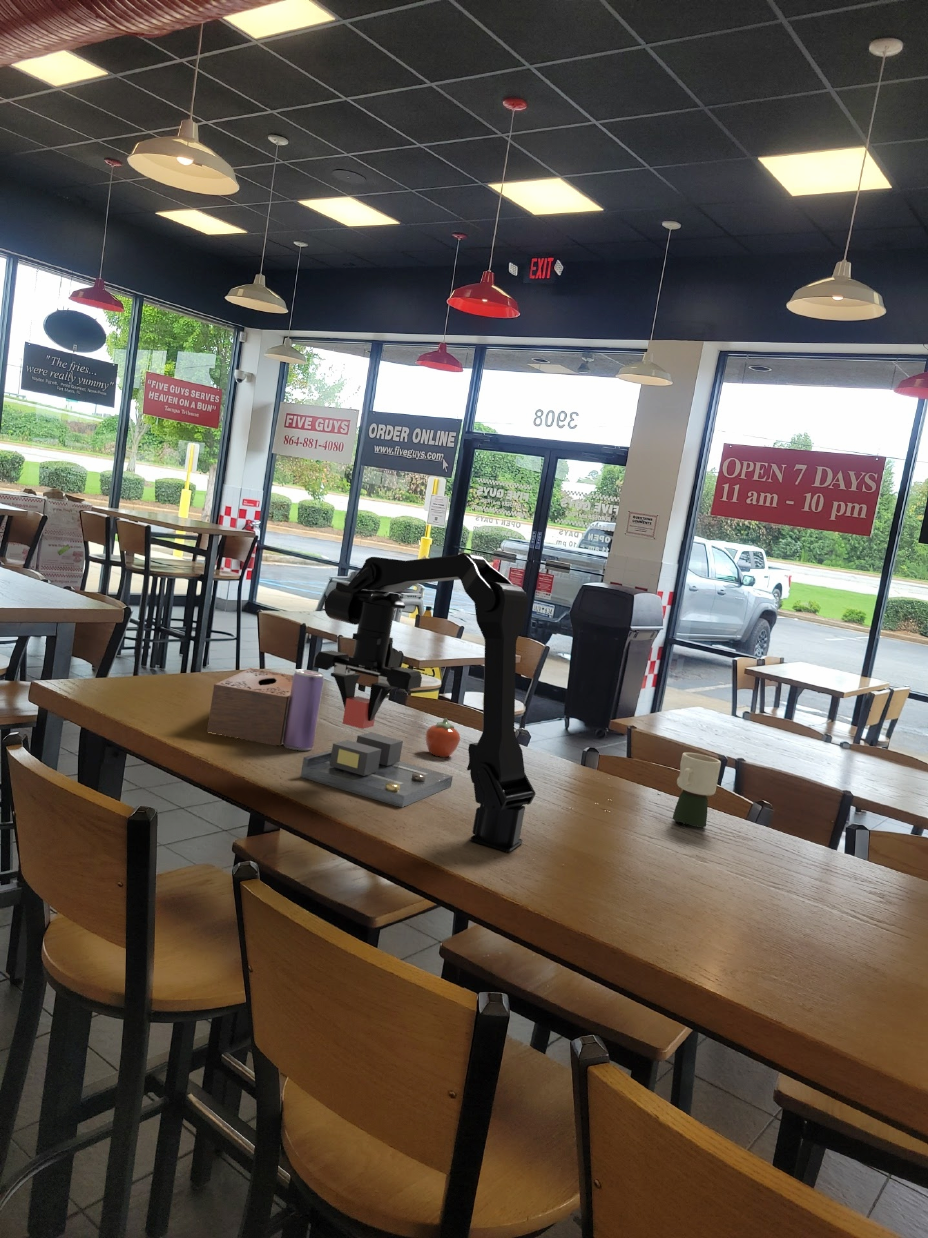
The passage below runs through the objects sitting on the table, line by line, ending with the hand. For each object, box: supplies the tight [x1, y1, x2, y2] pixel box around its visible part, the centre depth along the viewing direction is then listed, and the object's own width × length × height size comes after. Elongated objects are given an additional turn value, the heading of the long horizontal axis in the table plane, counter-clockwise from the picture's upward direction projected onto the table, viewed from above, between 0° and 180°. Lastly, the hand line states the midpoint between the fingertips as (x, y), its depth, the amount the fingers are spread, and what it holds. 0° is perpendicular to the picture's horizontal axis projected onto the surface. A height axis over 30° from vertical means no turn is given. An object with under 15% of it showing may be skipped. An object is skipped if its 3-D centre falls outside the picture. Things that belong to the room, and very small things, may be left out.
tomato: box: [424, 717, 461, 758], centre depth 189 cm, size 7×7×8 cm
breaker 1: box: [329, 739, 381, 776], centre depth 157 cm, size 7×5×4 cm
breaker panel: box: [300, 749, 454, 808], centre depth 160 cm, size 20×20×4 cm
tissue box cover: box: [206, 667, 294, 747], centre depth 186 cm, size 26×14×10 cm, turn 178°
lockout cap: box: [341, 695, 376, 730], centre depth 155 cm, size 4×4×4 cm
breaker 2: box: [356, 732, 404, 766], centre depth 167 cm, size 7×5×4 cm
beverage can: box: [282, 669, 325, 752], centre depth 174 cm, size 6×6×15 cm
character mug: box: [672, 752, 722, 828], centre depth 167 cm, size 11×7×13 cm, turn 138°
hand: (359, 717), depth 155 cm, fingers closed on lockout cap, 4 cm apart
